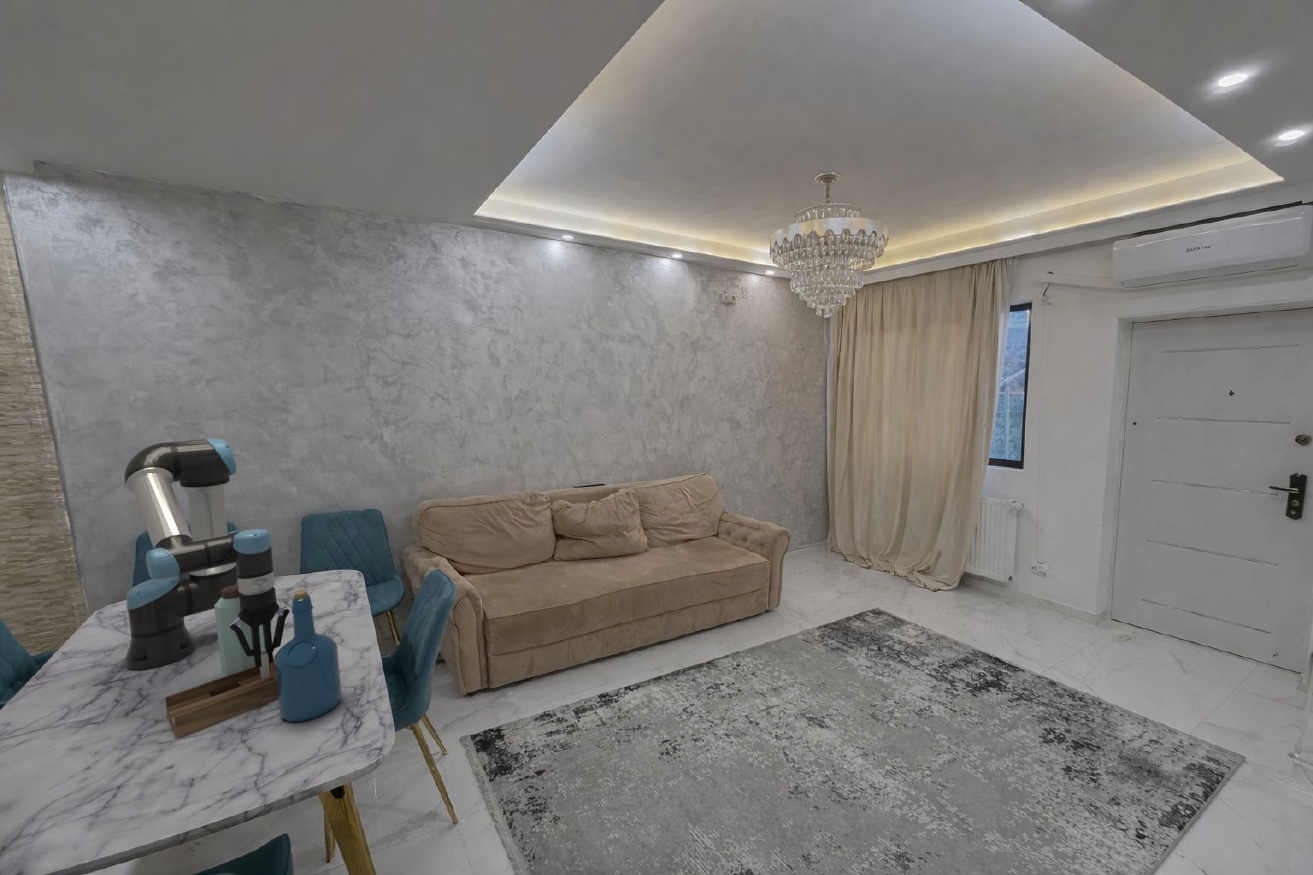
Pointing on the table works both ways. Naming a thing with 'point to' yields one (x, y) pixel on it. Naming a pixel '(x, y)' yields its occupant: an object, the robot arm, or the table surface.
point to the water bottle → (233, 633)
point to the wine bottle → (307, 667)
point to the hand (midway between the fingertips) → (265, 676)
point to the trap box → (219, 700)
